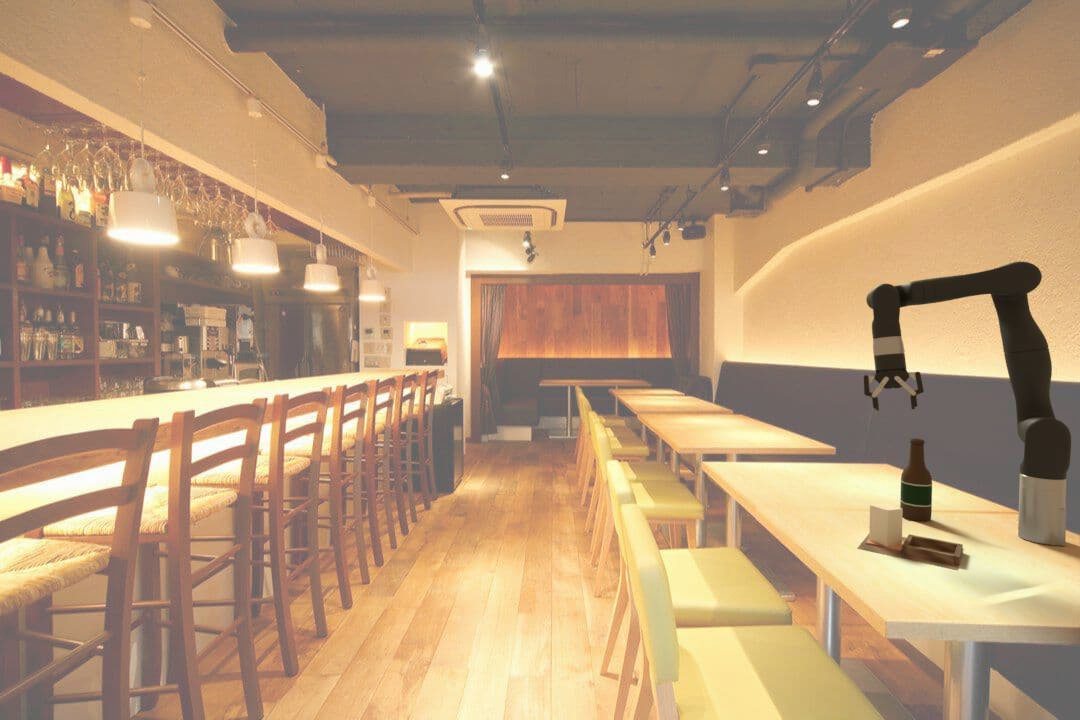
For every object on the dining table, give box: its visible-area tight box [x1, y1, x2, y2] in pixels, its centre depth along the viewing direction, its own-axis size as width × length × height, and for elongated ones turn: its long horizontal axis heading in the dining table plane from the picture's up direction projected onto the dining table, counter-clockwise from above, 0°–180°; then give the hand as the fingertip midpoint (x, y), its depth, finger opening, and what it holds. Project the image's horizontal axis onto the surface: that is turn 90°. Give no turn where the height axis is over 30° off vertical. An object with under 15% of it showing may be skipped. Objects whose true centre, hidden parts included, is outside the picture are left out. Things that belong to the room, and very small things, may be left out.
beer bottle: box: [899, 438, 933, 523], centre depth 165 cm, size 8×8×24 cm
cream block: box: [868, 503, 903, 546], centre depth 140 cm, size 5×5×9 cm
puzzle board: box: [856, 532, 964, 571], centre depth 136 cm, size 20×18×3 cm
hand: (895, 409), depth 156 cm, fingers open, 8 cm apart
